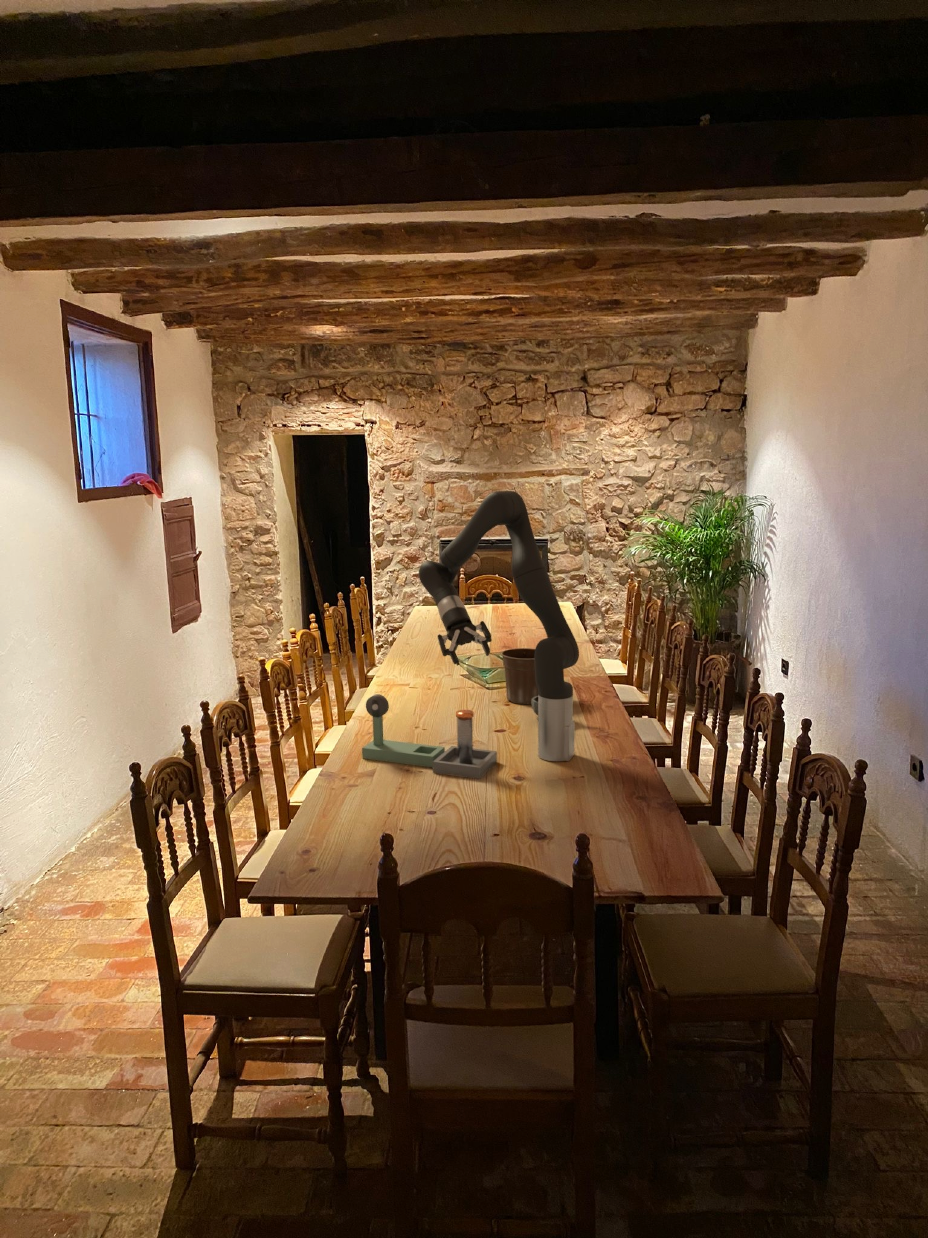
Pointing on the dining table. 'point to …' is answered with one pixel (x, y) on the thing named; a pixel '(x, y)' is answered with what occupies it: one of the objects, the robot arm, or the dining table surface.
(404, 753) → the pulley bracket
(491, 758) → the pin tray
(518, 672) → the plant pot
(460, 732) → the pin
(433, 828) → the dining table surface
